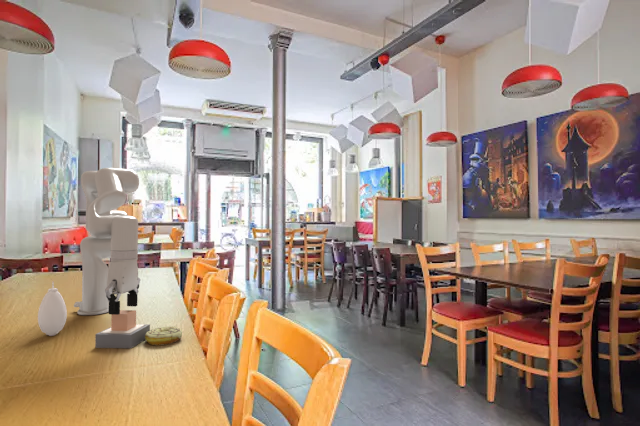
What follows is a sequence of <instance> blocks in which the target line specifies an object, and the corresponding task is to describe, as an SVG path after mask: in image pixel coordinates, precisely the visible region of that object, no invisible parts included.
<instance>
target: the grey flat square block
mask: <svg viewBox="0 0 640 426" xmlns="http://www.w3.org/2000/svg"><path fill="white" fill-rule="evenodd" d="M150 330H151V324H145V323H144V324H142V323H139V324H138V323H136V326H135V327H133V328H131V329H130V330H128V331H112V330H111V326H110V327H108V328H106V329H103V330H101V331H99V332H97V333H95V337H94V338H95V339H94V341H95V344H94V346H95V349H97V348H98V349H132V348H133V347H136V346H137V345H138V344H141V343H142V342H144V341H145V340H146V339H145V335H146V333H147V332H148V331H150Z"/></svg>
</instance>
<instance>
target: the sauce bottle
mask: <svg viewBox="0 0 640 426" xmlns="http://www.w3.org/2000/svg"><path fill="white" fill-rule="evenodd" d="M37 311H38V312H37V323H38V326H39V328H40V330H41V332H42V333H44V334H45V335H46V336H50V337H52V336H56V335H57V334H58V333H60V331H62V330H63V329H64V327H65V324H66V322H67V317H68V314H67V313H68V311H67V305H66V303H65V300H64V297H63V296H62V293H60V291H59V290H58V288H56V287H55V284H54V281H52V283H51V288H48V289H47V292H46V293H45V295H44V296H43V298H42V300H41V302H40V304H39V308H38V310H37Z"/></svg>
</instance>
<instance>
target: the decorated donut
mask: <svg viewBox="0 0 640 426" xmlns="http://www.w3.org/2000/svg"><path fill="white" fill-rule="evenodd" d="M182 337H183V331H182V329H181V328H179V327H177V326H161V327H156V328H153V329H150V331H148V332H147V333H146V335H145V340H146V342H147V343H148V345H151V346H162V345H163V346H164V345H169V344H170V345H171V344H173V343H176V342H177V341H179V340H180V339H181V338H182Z"/></svg>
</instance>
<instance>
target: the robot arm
mask: <svg viewBox="0 0 640 426" xmlns="http://www.w3.org/2000/svg"><path fill="white" fill-rule="evenodd" d="M80 176H81V177H80V183H81V184H80V185H81V188H82V191H83V193H84V196H85V201H86V204H85V205H86V206H85V229H86V231H87V232H88V233H89V234H90V235H89V236H85V237H84V238H82V239H81V241H80V243H79V248H80V255H81V264H82V265H81V266H82V267H81V268H82V278H81V279H82V281H81V283H82V284H81V285H82V288H81V289H82V290H81V300H82V301H75V303H74V304H73V307H74V308H79V309H77V314H78V315H79V316H96V315H97V316H98V315H102V314H103V315H104V314H106V313H108V315H112V314H113V315H118V314H120V310H121V301H120V298H121V296H122V294H125V293H127V294H126V306H127V307H137V306H138V295H139V288H140V283H141V278H140V277H139V267H138V256H139V255H138V253H139V252H138V251H139V250H138V249H139V247H138V246H139V219H138V218H137V217H135V216H132V215H128V213H127V212H126V211H124V210H116V209H119V208H120V207H122V206H123V205H124V204H125V203H126V201H127V194H132V193H135V192H136V191H137V190H138V189H139V186H140V179H139V176H138V173H137V172H136V171H134V169H130V168H129V169H127V168H115V167H103V168H100V169H98V170H87V171H83V173H82V174H81V175H80ZM103 259H110V262H109V265H107V263H105V261H103Z"/></svg>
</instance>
